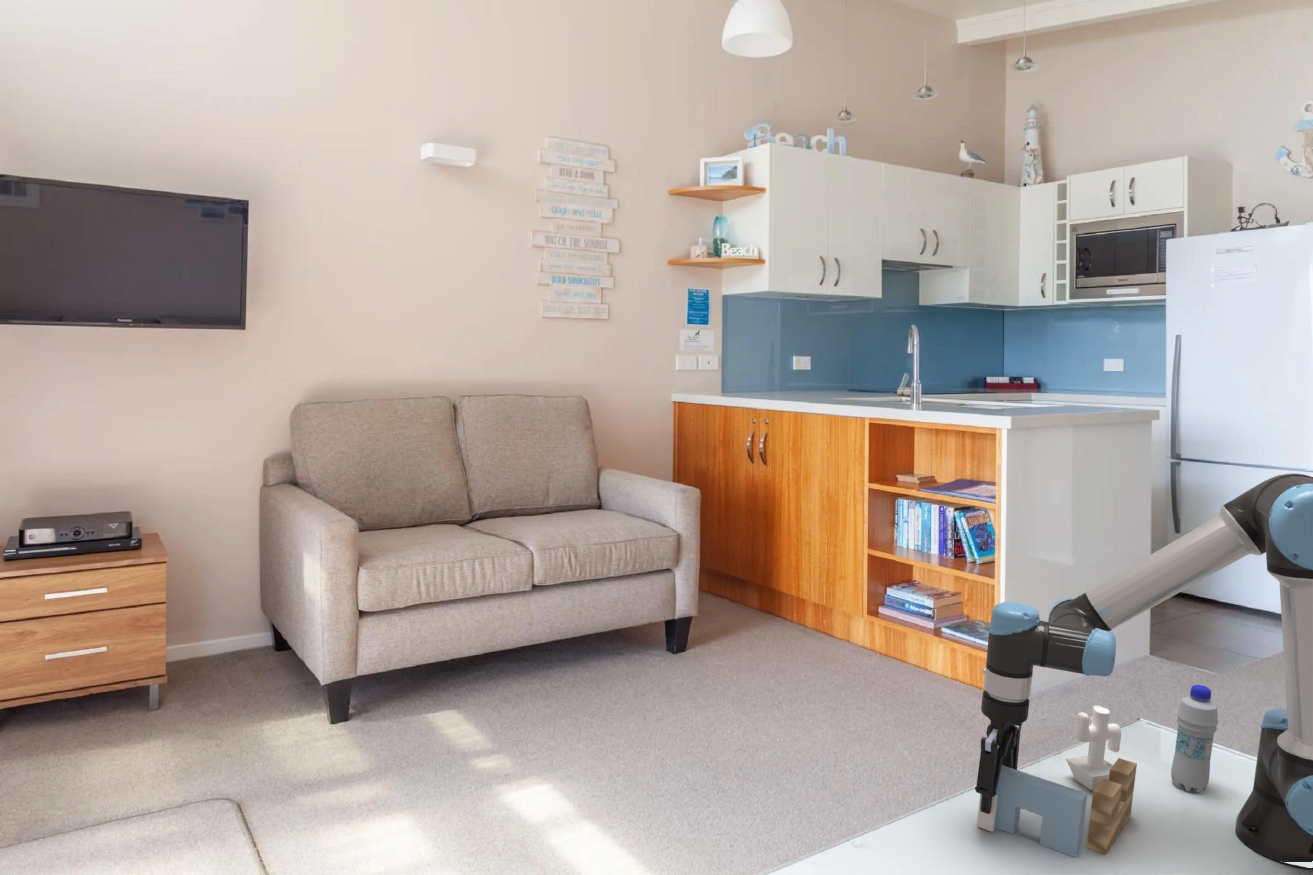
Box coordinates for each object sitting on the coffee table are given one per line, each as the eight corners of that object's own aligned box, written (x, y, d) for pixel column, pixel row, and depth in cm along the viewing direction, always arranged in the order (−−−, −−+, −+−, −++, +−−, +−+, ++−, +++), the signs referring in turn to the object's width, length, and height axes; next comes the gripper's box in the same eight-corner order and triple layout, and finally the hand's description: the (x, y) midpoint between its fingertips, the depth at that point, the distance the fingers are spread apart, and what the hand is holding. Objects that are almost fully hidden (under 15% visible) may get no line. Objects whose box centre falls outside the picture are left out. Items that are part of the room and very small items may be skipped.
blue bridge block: (1080, 849, 162) (1087, 793, 160) (1075, 857, 159) (1081, 800, 158) (985, 814, 171) (990, 761, 170) (979, 821, 169) (984, 767, 168)
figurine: (1127, 790, 182) (1136, 714, 180) (1085, 796, 180) (1094, 718, 177) (1099, 771, 189) (1107, 698, 187) (1058, 777, 186) (1067, 702, 184)
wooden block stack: (1130, 816, 173) (1136, 763, 171) (1105, 854, 161) (1112, 797, 159) (1112, 810, 175) (1118, 757, 173) (1086, 847, 162) (1093, 790, 161)
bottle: (1207, 798, 180) (1221, 696, 177) (1166, 787, 184) (1179, 686, 181) (1209, 784, 186) (1223, 684, 183) (1170, 773, 190) (1183, 675, 187)
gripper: (1003, 672, 175) (990, 792, 179) (963, 703, 161) (950, 833, 164) (1046, 684, 171) (1032, 807, 174) (1008, 717, 156) (994, 851, 160)
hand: (992, 820), depth 169 cm, fingers open, 6 cm apart
